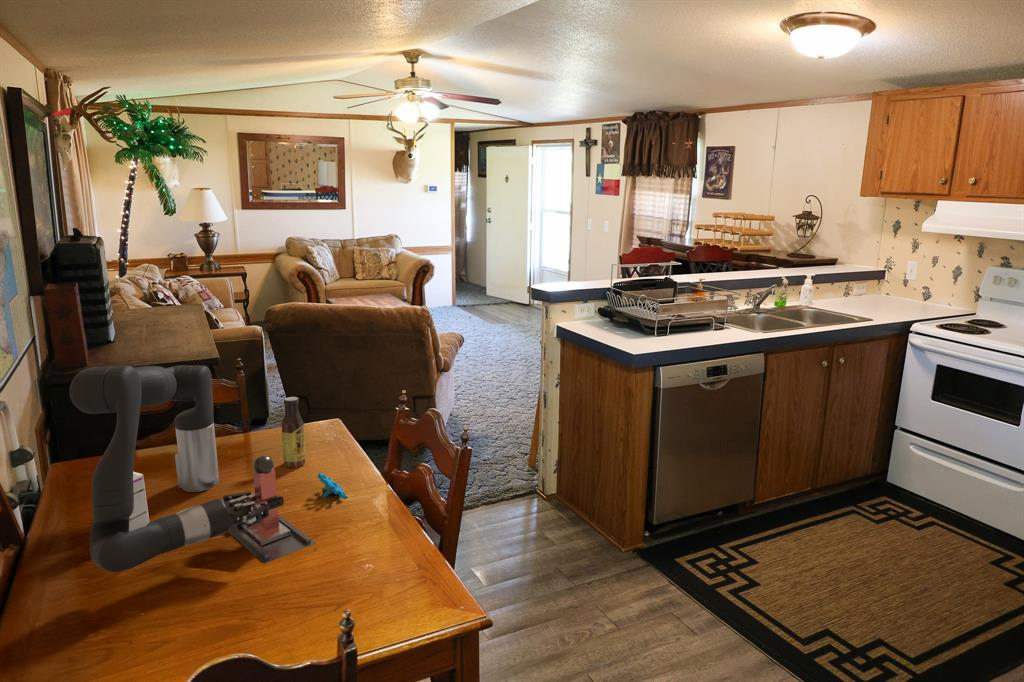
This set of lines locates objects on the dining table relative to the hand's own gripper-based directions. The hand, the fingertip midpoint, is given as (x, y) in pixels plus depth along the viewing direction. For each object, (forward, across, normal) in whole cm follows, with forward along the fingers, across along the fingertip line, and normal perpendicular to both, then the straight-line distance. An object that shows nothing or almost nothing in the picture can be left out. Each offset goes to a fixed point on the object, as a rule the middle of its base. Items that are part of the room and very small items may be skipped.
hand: (278, 497), depth 154 cm
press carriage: (-3, +1, +8) cm, 9 cm away
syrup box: (-24, +25, +10) cm, 36 cm away
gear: (+19, +9, +10) cm, 23 cm away
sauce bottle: (+22, +36, +10) cm, 43 cm away
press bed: (-3, +4, +10) cm, 11 cm away
